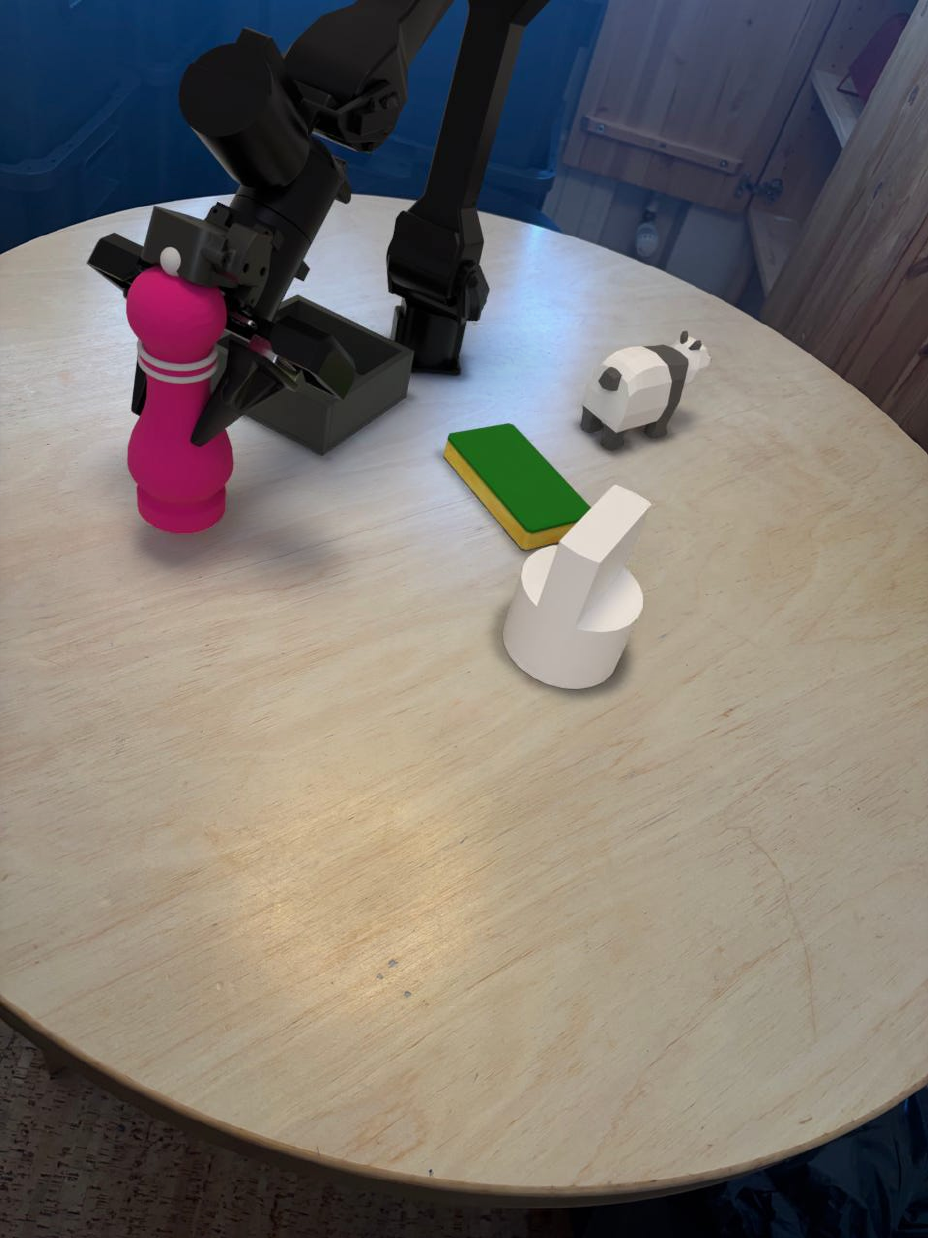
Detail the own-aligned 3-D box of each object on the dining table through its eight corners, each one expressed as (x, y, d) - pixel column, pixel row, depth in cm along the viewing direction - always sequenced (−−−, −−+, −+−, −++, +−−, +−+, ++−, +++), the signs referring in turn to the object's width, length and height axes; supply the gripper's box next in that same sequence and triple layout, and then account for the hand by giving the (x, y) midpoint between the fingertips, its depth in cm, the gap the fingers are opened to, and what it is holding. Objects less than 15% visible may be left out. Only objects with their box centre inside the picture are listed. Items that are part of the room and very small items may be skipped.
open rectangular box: (294, 340, 95) (297, 293, 92) (406, 396, 92) (414, 350, 88) (200, 391, 86) (200, 341, 82) (322, 456, 83) (327, 407, 79)
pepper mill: (210, 550, 68) (211, 289, 54) (113, 523, 68) (87, 255, 54) (246, 491, 73) (255, 238, 59) (155, 466, 73) (142, 207, 59)
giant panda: (603, 457, 91) (634, 369, 84) (566, 425, 94) (594, 338, 87) (703, 426, 99) (739, 343, 92) (667, 397, 101) (699, 315, 95)
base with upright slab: (586, 709, 68) (639, 587, 59) (480, 646, 70) (517, 521, 62) (636, 640, 74) (691, 522, 65) (537, 585, 76) (578, 463, 68)
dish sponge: (506, 443, 90) (512, 421, 88) (589, 535, 82) (598, 513, 80) (441, 454, 86) (446, 432, 84) (522, 552, 79) (529, 529, 77)
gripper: (94, 101, 58) (-23, 329, 58) (350, 212, 54) (222, 456, 54) (184, 197, 69) (85, 388, 69) (402, 295, 65) (296, 498, 65)
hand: (165, 429), depth 64 cm, fingers closed on pepper mill, 5 cm apart
